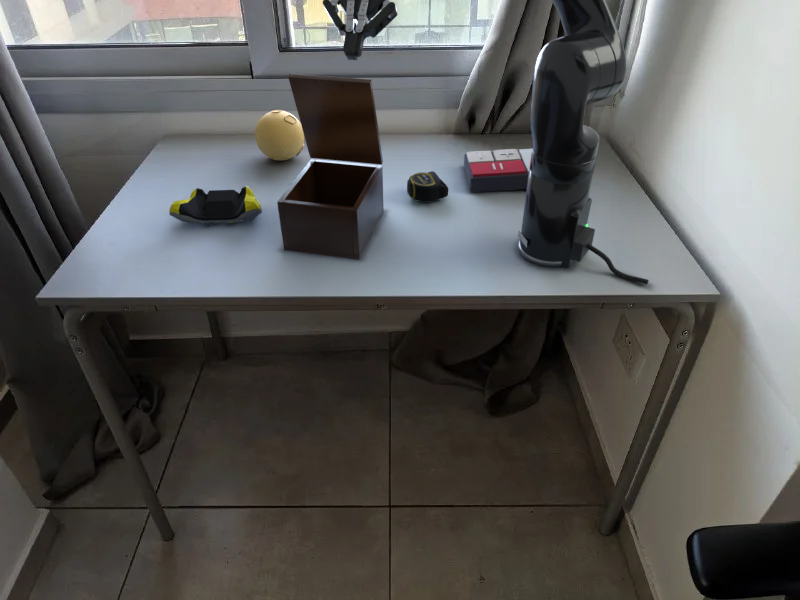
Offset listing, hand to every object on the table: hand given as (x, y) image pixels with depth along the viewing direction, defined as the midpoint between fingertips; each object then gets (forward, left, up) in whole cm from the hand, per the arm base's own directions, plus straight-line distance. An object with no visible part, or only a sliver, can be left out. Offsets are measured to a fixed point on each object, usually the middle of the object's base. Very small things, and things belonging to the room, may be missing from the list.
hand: (351, 57), depth 101 cm
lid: (-3, +9, -8) cm, 12 cm away
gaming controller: (+14, +21, -25) cm, 36 cm away
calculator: (-21, -20, -25) cm, 38 cm away
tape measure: (-12, -6, -25) cm, 28 cm away
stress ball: (+22, -4, -25) cm, 34 cm away
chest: (-5, +13, -25) cm, 28 cm away
